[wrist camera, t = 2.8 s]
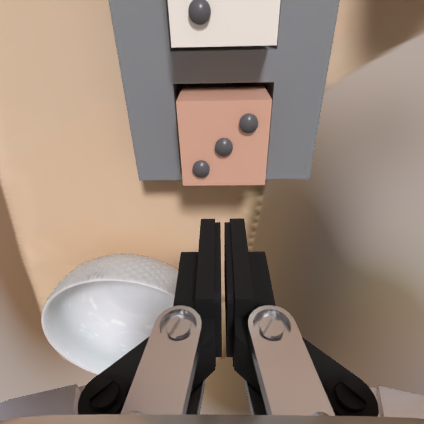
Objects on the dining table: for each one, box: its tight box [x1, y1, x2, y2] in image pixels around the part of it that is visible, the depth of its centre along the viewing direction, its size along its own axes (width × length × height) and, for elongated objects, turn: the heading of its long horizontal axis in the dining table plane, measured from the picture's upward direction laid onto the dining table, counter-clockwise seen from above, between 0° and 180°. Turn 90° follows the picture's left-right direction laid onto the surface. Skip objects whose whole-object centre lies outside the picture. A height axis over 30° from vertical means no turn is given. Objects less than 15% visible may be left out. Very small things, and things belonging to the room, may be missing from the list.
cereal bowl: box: [41, 254, 178, 375], centre depth 34 cm, size 17×17×7 cm
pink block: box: [176, 86, 272, 186], centre depth 22 cm, size 6×6×4 cm
